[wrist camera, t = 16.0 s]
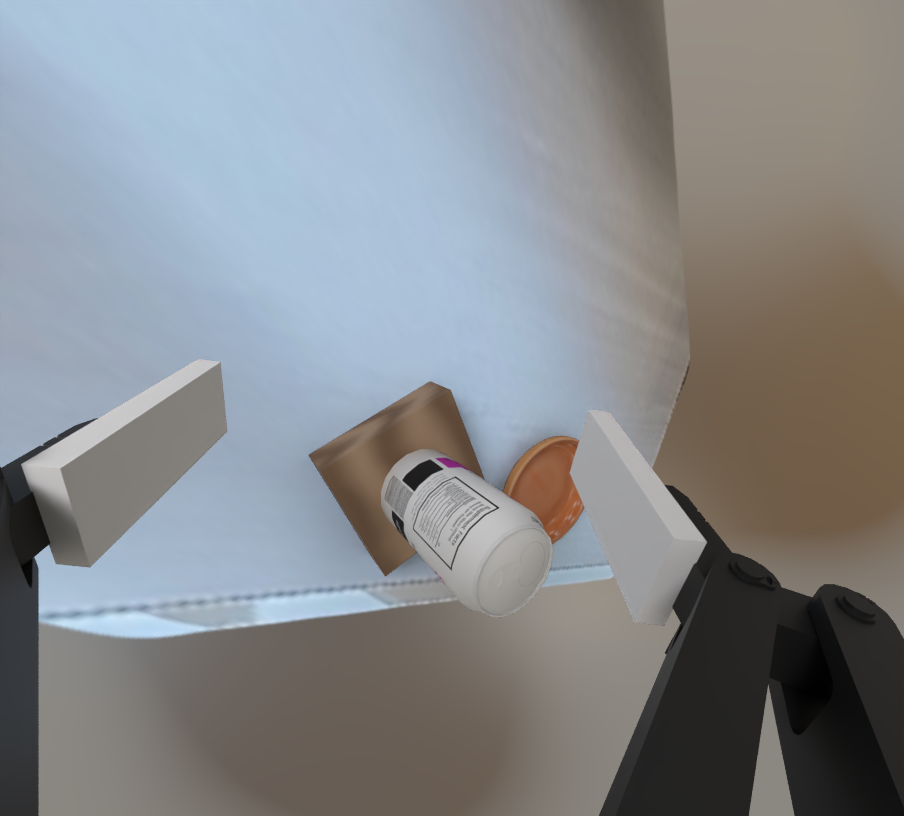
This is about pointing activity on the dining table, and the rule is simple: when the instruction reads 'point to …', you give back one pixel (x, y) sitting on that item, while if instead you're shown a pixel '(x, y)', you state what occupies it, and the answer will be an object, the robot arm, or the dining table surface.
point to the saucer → (548, 485)
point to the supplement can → (468, 532)
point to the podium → (390, 463)
